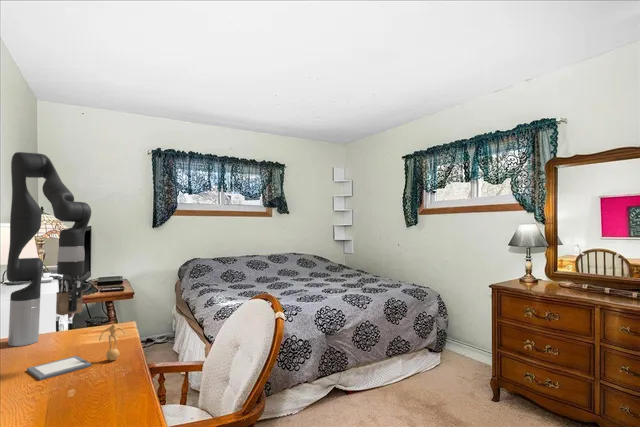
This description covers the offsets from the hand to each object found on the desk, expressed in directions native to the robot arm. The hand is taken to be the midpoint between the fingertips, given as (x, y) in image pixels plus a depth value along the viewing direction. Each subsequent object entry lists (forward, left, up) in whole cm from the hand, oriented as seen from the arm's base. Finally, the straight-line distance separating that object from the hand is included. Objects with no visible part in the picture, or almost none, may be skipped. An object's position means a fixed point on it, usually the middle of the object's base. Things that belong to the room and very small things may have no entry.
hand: (69, 310), depth 120 cm
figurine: (+7, +11, -18) cm, 23 cm away
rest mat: (+2, -3, -18) cm, 18 cm away
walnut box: (0, 0, -1) cm, 1 cm away
